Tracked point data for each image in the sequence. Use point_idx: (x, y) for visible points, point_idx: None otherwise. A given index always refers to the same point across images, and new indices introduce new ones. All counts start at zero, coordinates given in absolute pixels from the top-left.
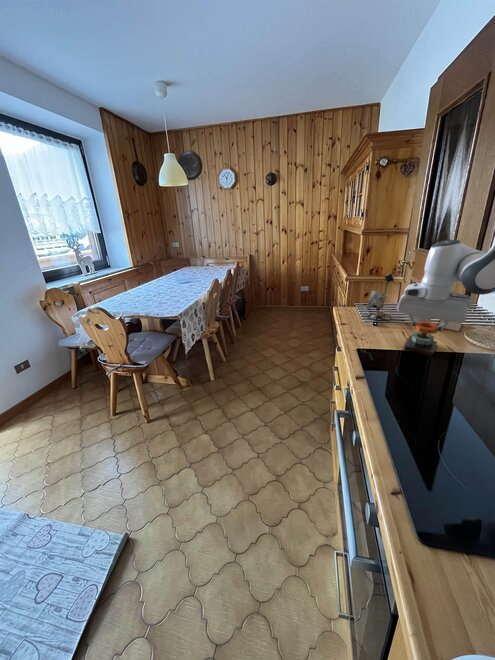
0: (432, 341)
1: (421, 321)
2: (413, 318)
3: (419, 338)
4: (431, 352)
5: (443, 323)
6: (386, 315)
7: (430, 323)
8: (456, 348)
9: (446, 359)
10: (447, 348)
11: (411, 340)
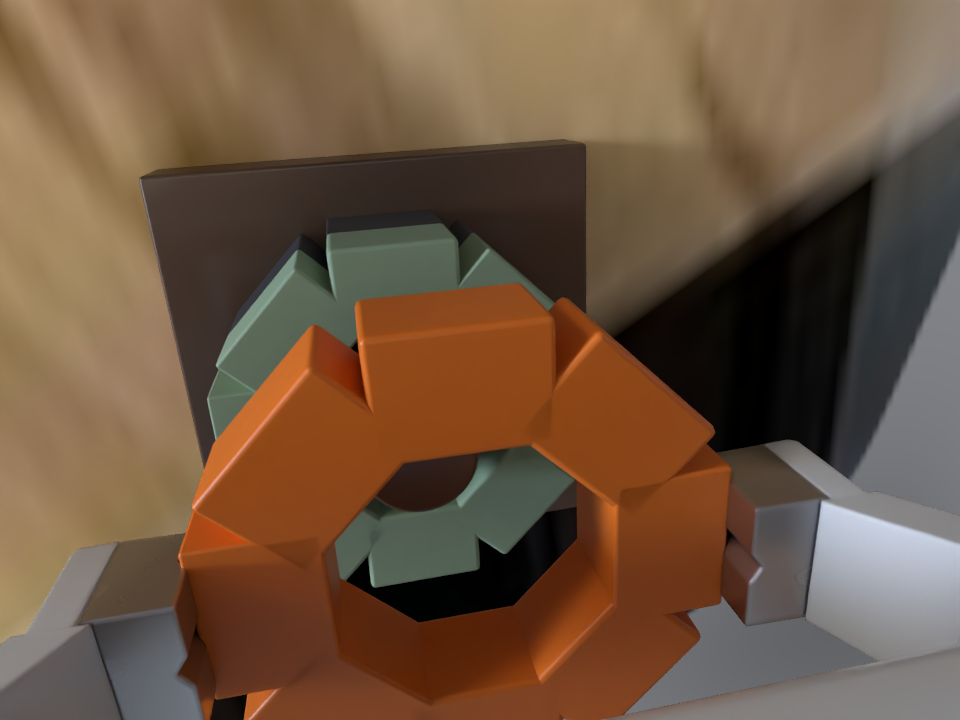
0: None
1: (280, 425)
2: (29, 713)
3: (385, 546)
4: (563, 508)
5: (896, 554)
6: None
7: (537, 424)
8: (809, 75)
9: None
10: (706, 150)
11: None
